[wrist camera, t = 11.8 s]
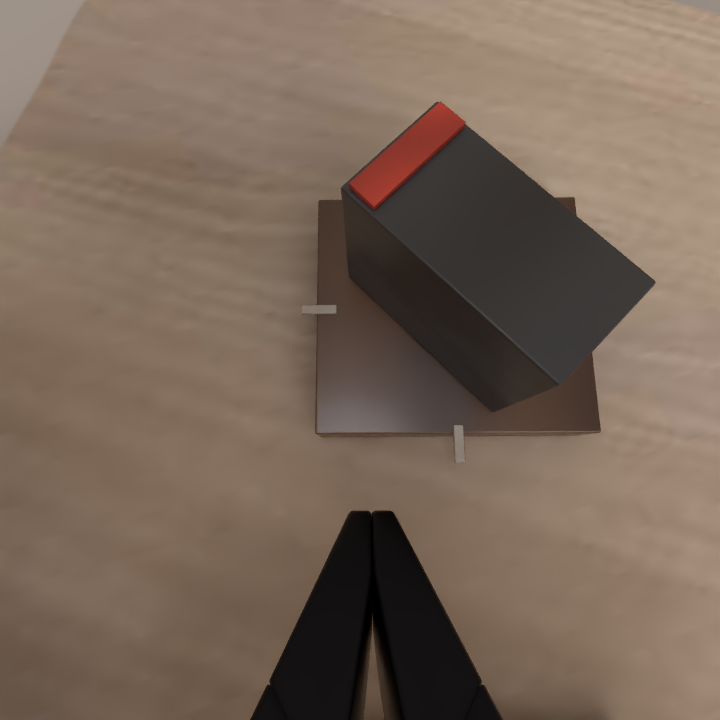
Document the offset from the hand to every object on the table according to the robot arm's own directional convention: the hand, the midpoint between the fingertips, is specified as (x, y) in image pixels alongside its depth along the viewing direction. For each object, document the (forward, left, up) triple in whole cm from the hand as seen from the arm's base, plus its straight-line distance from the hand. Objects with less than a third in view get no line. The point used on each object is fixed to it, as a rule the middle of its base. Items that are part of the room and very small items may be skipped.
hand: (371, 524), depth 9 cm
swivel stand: (+2, -8, -11) cm, 13 cm away
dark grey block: (+2, -8, -9) cm, 12 cm away
